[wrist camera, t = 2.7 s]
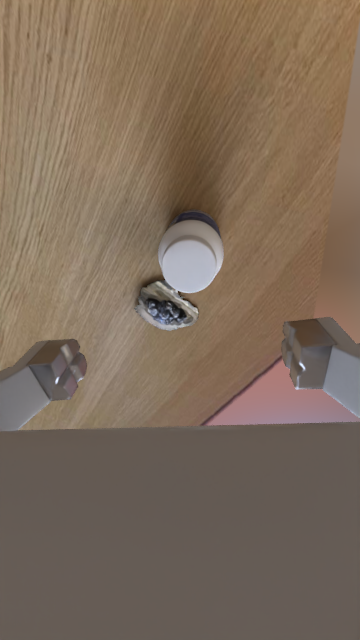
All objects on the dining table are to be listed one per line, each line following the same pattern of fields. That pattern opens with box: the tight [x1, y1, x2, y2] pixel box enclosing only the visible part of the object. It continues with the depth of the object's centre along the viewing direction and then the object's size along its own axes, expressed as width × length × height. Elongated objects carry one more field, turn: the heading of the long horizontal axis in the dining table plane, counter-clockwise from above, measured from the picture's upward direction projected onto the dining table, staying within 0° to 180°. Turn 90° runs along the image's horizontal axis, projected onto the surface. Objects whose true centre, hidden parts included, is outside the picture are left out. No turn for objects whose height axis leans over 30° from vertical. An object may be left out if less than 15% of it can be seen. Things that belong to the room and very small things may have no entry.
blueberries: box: [134, 280, 199, 331], centre depth 29 cm, size 7×8×2 cm
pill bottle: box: [158, 210, 224, 293], centre depth 21 cm, size 5×5×10 cm
